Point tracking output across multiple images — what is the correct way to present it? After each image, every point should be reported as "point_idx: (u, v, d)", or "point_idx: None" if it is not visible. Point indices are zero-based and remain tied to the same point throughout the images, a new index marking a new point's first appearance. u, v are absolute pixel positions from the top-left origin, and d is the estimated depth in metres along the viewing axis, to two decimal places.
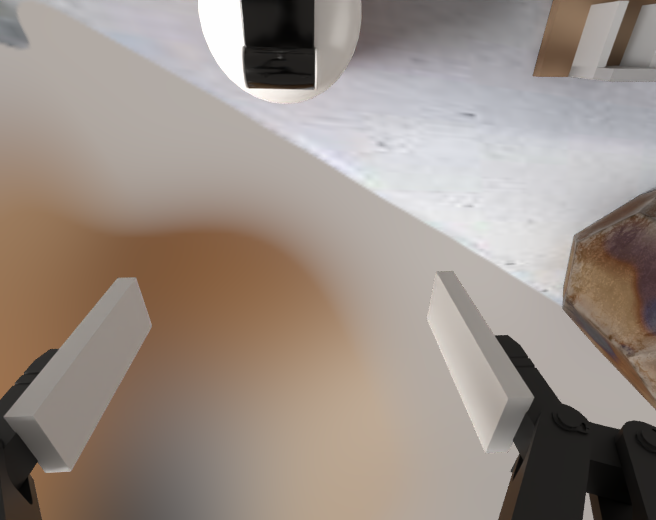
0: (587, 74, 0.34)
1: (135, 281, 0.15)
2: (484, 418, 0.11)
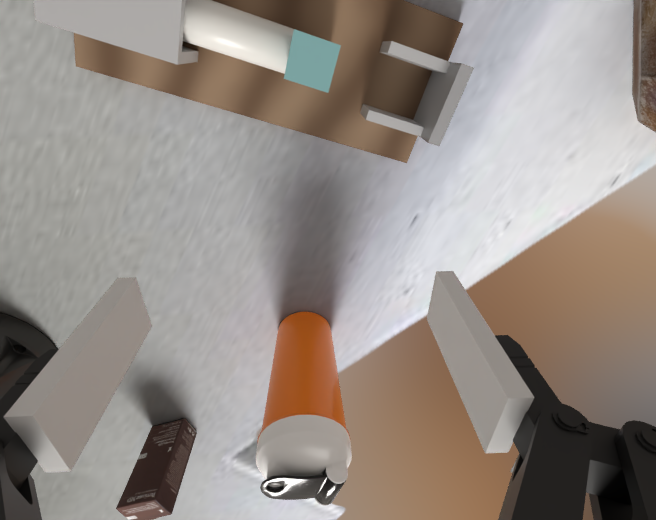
0: None
1: (135, 281, 0.15)
2: (484, 418, 0.11)
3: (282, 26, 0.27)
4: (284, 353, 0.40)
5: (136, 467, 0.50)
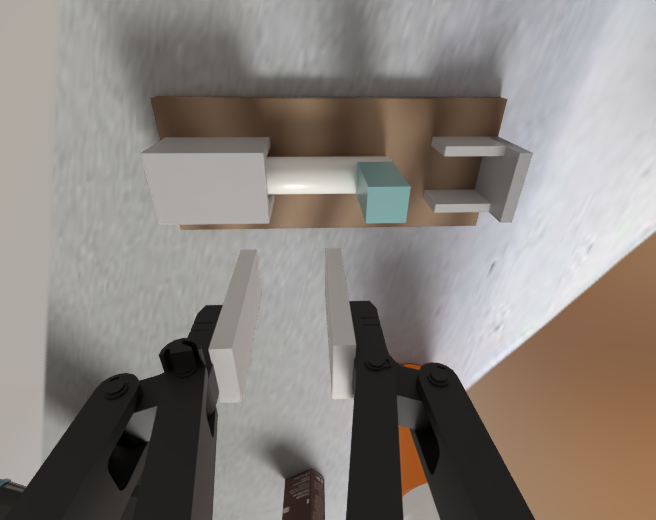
0: None
1: (256, 253, 0.17)
2: (331, 368, 0.13)
3: (344, 160, 0.30)
4: None
5: None
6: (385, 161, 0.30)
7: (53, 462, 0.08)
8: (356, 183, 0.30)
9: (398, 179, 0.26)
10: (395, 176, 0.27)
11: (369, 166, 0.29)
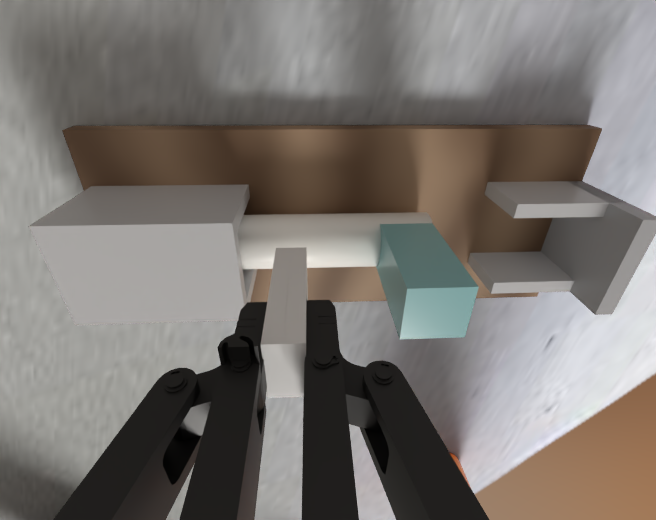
0: None
1: None
2: None
3: (360, 221, 0.20)
4: None
5: None
6: (422, 223, 0.20)
7: (115, 449, 0.09)
8: (378, 256, 0.20)
9: (453, 267, 0.16)
10: (446, 259, 0.16)
11: (399, 233, 0.19)
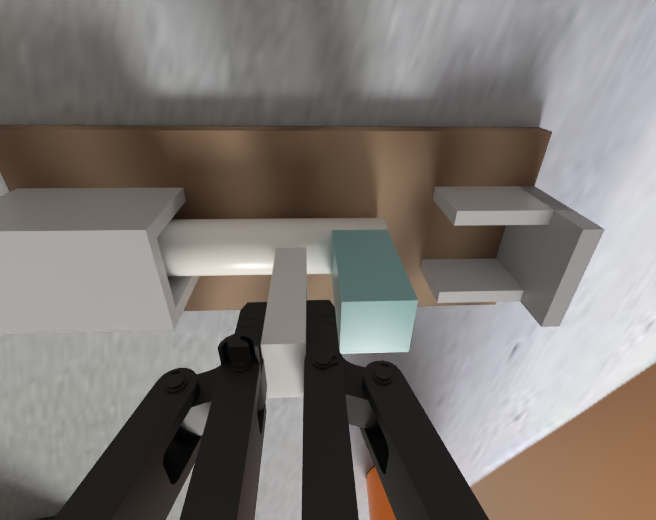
0: None
1: None
2: None
3: (311, 227, 0.19)
4: None
5: None
6: (376, 229, 0.19)
7: (115, 449, 0.09)
8: (330, 263, 0.19)
9: (396, 278, 0.15)
10: (391, 269, 0.16)
11: (350, 241, 0.18)
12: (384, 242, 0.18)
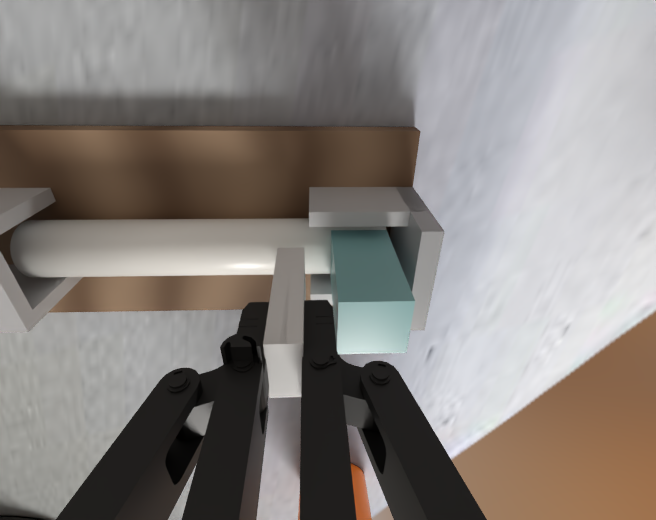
0: None
1: None
2: None
3: (310, 227, 0.19)
4: None
5: None
6: (375, 229, 0.19)
7: (118, 449, 0.09)
8: (329, 263, 0.19)
9: (394, 279, 0.15)
10: (389, 270, 0.16)
11: (348, 241, 0.18)
12: (383, 242, 0.18)
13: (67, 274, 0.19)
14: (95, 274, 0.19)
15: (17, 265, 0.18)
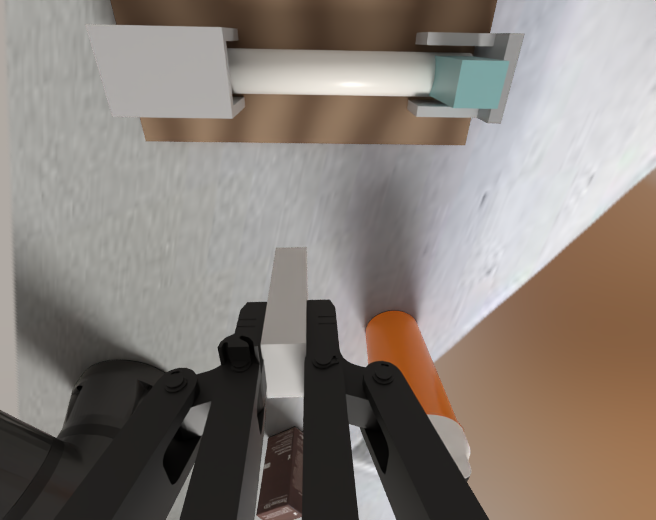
0: None
1: None
2: None
3: (420, 53, 0.27)
4: (378, 356, 0.41)
5: (263, 476, 0.55)
6: (465, 55, 0.27)
7: (115, 449, 0.09)
8: (432, 79, 0.27)
9: (491, 59, 0.23)
10: None
11: (450, 56, 0.26)
12: None
13: (251, 85, 0.28)
14: (270, 86, 0.28)
15: None
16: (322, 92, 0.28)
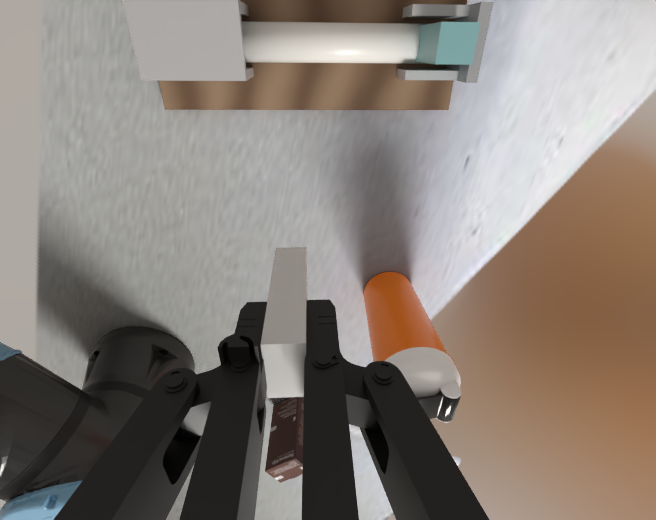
0: None
1: None
2: None
3: (406, 24, 0.32)
4: (376, 308, 0.45)
5: (270, 438, 0.58)
6: None
7: (115, 449, 0.09)
8: (417, 46, 0.32)
9: None
10: None
11: None
12: None
13: (261, 53, 0.32)
14: (277, 54, 0.32)
15: None
16: (322, 59, 0.33)
